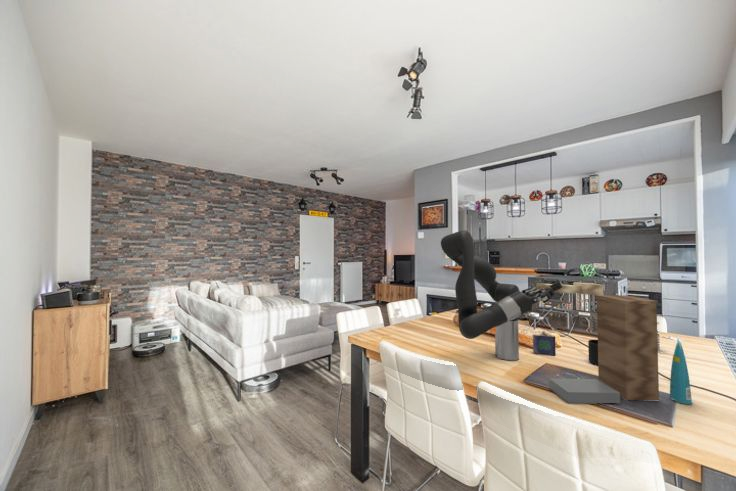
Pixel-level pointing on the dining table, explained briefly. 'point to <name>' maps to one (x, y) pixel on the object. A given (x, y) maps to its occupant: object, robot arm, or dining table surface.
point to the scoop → (577, 288)
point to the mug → (593, 351)
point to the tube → (680, 377)
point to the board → (584, 391)
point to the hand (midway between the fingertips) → (557, 284)
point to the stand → (628, 346)
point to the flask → (544, 344)
